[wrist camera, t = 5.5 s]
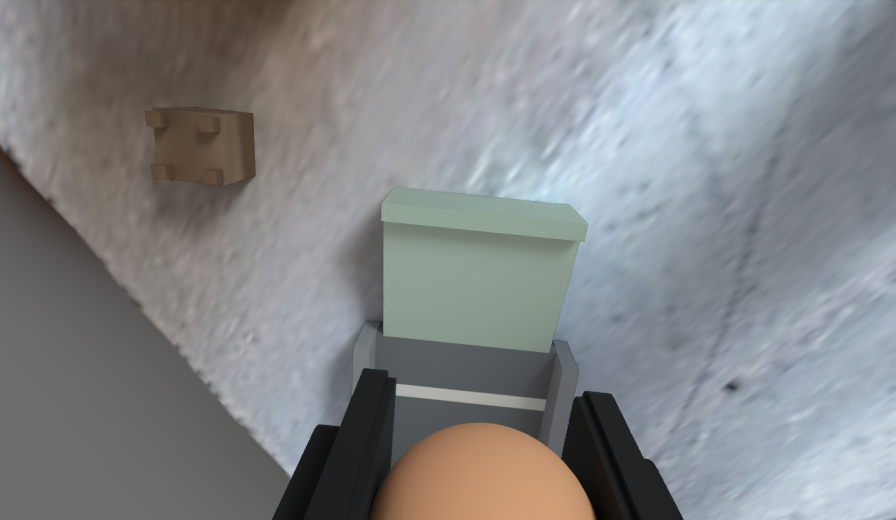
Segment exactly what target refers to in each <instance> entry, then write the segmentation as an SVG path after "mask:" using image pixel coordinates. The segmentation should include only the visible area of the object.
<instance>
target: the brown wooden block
mask: <svg viewBox="0 0 896 520" xmlns="http://www.w3.org/2000/svg"><path fill="white" fill-rule="evenodd" d="M145 115H146V123H147V126H152V127H154V133H155V142H156V151H157V160H158V163H157V164H152V165H151V167H152V176H153V179H161V180H178V181H188V182H198V183H203V184H210V185H229V184H232V183H234V182H237V181H240V180H243V179H246V178H249V177H252V176H255V150H254V126H253V113H245V112H235V111H225V110H215V109H204V108H194V107H179V108H152V111H145Z"/></svg>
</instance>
